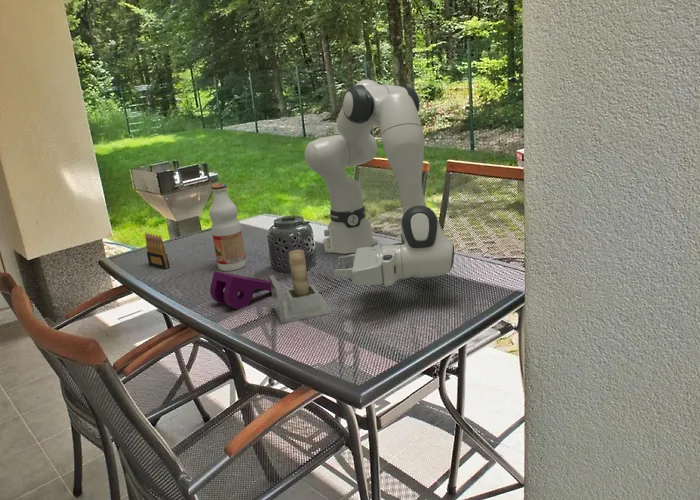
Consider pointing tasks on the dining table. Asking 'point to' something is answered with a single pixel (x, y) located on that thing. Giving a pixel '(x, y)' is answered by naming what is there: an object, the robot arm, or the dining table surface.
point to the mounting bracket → (235, 289)
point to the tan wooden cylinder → (299, 273)
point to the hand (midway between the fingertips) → (336, 266)
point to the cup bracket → (297, 303)
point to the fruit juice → (226, 230)
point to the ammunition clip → (156, 251)
